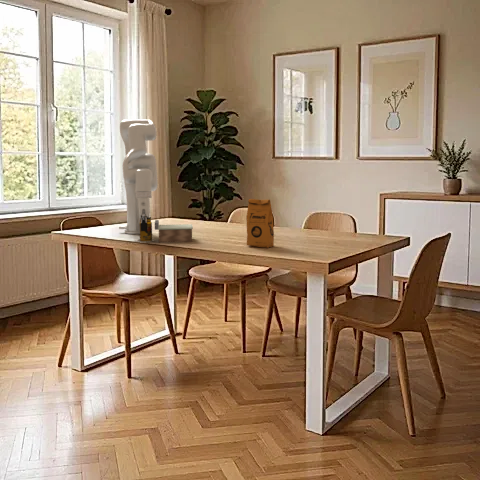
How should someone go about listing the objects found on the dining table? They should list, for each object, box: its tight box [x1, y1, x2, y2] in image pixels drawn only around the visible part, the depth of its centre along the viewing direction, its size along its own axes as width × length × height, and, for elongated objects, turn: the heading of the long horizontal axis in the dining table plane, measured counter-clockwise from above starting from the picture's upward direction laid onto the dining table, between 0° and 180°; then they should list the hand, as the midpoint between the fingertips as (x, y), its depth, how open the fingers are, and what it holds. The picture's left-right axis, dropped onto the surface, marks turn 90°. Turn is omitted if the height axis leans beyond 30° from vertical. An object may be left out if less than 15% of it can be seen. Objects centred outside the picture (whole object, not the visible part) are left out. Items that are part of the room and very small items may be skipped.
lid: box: [154, 219, 193, 231], centre depth 307 cm, size 18×12×3 cm
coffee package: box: [245, 198, 275, 249], centre depth 287 cm, size 10×12×22 cm
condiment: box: [135, 216, 155, 243], centre depth 307 cm, size 7×8×12 cm
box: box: [158, 229, 193, 243], centre depth 308 cm, size 16×12×6 cm
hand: (144, 229), depth 306 cm, fingers open, 9 cm apart
